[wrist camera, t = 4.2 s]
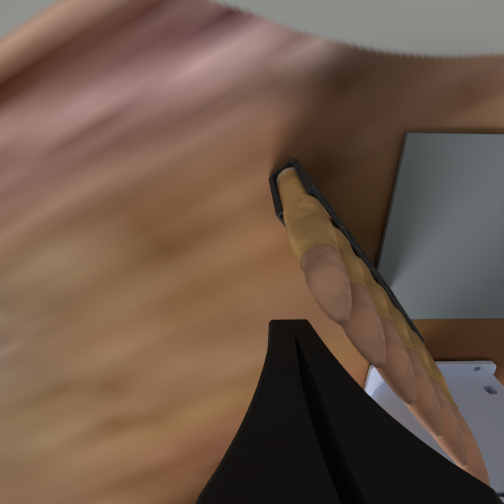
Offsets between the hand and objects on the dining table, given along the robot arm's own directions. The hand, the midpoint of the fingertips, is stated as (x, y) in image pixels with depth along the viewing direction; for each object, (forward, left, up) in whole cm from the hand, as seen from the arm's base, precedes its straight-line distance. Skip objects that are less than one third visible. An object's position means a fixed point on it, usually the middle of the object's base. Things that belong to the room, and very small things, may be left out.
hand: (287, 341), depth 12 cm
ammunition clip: (-4, 0, -9) cm, 10 cm away
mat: (-15, 0, -9) cm, 18 cm away
